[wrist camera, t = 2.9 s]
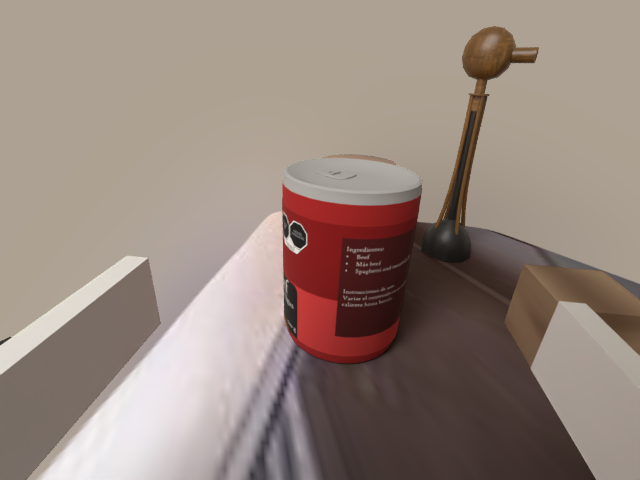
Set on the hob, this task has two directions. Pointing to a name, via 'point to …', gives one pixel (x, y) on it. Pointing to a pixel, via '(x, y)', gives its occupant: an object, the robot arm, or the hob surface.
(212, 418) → the hob surface
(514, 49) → the wooden tabletop sculpture
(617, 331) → the walnut block
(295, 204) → the canned food
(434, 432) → the hob surface
